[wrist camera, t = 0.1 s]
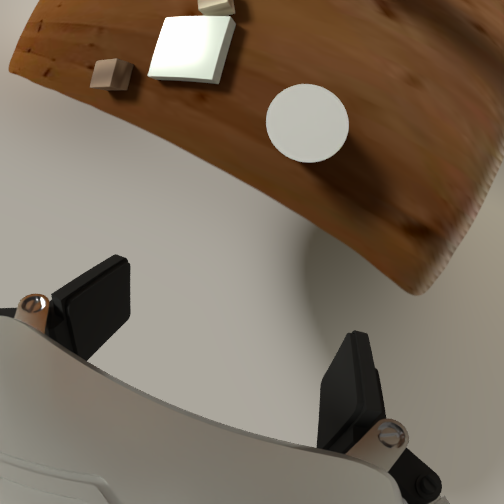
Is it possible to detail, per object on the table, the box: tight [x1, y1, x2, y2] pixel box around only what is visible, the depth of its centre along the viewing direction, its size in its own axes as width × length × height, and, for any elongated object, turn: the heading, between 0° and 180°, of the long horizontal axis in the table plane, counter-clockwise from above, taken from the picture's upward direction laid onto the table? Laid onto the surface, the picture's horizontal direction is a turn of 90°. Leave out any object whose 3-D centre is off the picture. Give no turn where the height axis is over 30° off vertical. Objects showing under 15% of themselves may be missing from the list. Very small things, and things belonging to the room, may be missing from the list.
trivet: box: [148, 16, 236, 84], centre depth 32 cm, size 11×11×3 cm
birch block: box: [198, 0, 235, 16], centre depth 28 cm, size 4×4×4 cm
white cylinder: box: [266, 84, 349, 163], centre depth 30 cm, size 8×8×12 cm
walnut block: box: [90, 59, 134, 91], centre depth 35 cm, size 5×5×5 cm
